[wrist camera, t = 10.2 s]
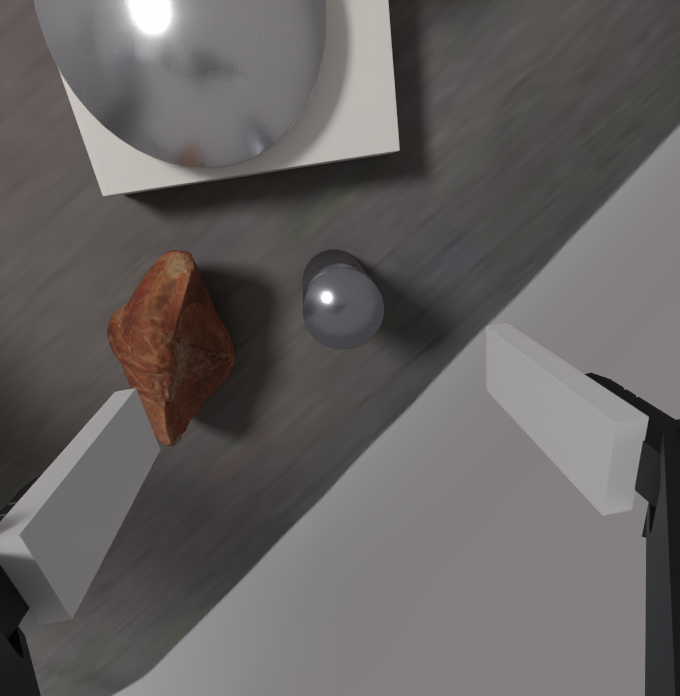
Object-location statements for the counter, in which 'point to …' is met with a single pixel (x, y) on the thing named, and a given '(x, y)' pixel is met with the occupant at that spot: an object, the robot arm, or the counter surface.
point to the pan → (190, 71)
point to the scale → (310, 129)
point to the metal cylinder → (340, 301)
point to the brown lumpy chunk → (171, 344)
